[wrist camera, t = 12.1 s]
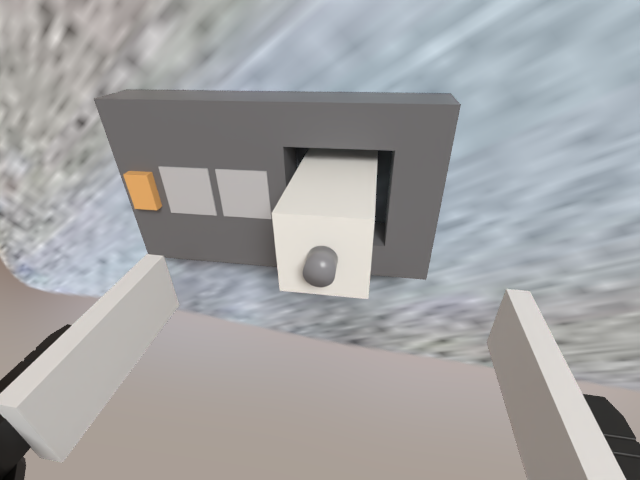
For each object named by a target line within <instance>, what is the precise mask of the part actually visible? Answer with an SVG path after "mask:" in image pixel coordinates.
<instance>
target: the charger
mask: <svg viewBox="0 0 640 480" xmlns="http://www.w3.org/2000/svg"><path fill="white" fill-rule="evenodd" d="M377 161H378V150H361V149H333V148H309V149H308V151H307V153H306V154H305V156H304V158H303V160H302V161H301V163H300V165H299V167H298V168H297V170H296V172H295V173H294V175H293V177H292V179H291V180H290V182H289V184H288V186H287V187H286V189H285V191H284V193H283V194H282V196H281V198H280V200H279V201H278V203H277V205H276V206H275V208H274V210H273V212H272V221H273V230H274V240H275V249H276V259H277V269H278V278H279V288H280V291H289V292H299V293H310V294H321V295H331V296H342V297H352V298H363V299H368V297H369V284H370V272H371V260H372V248H373V236H374V223H375V204H376V182H377Z"/></svg>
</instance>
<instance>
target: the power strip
mask: <svg viewBox="0 0 640 480" xmlns="http://www.w3.org/2000/svg"><path fill="white" fill-rule="evenodd" d="M94 101H95V104H96V106H97V109H98V112H99V115H100V118H101V121H102V123H103V126H104V129H105V132H106V135H107V138H108V141H109V143H110V146H111V149H112V152H113V155H114V158H115V161H116V163H117V166H118V169H119V172H120V175H121V178H122V181H123V183H124V186H125V189H126V192H127V195H128V198H129V200H130V203H131V206H132V209H133V212H134V215H135V218H136V220H137V223H138V226H139V229H140V232H141V235H142V238H143V240H144V243H145V246H146V249H147V252H148V254H151V255H161V256H164V257H166V258H178V259H190V260H201V261H213V262H225V263H237V264H249V265H260V266H272V267H277V259H276V249H275V240H274V230H273V221H272V212H273V210H274V208H275V206H276V205H277V203H278V201H279V200H280V198H281V196H282V194H283V193H284V191H285V189H286V187H287V186H288V184H289V182H290V180H291V179H292V177H293V175H294V173H295V172H296V170H297V167H296V149H295V147H304V148H333V149H361V150H390V151H392V157H391V167H390V177H389V187H388V197H387V207H386V217H385V223H378V222H375V223H374V236H373V248H372V260H371V272H370V275H378V276H390V277H402V278H414V279H425V280H426V278H427V273H428V268H429V262H430V257H431V252H432V247H433V242H434V237H435V232H436V227H437V222H438V217H439V212H440V207H441V202H442V196H443V191H444V186H445V181H446V176H447V171H448V166H449V161H450V156H451V151H452V146H453V141H454V136H455V130H456V125H457V120H458V115H459V110H460V105H461V104H460V103H459V102H458V101H457V100H456V99H455V98H454V97H453V95H452V94H451V93H375V92H290V91H205V90H123V91H120V92H116V93H112V94H109V95H105V96H102V97H98V98H94Z"/></svg>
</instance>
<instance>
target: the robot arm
mask: <svg viewBox="0 0 640 480" xmlns="http://www.w3.org/2000/svg"><path fill="white" fill-rule="evenodd" d="M178 307H179V302H178V299H177V296H176V293H175V290H174V287H173V283H172V280H171V277H170V274H169V271H168V268H167V265H166V261H165V258H164V256H161V255H151V254H146V255H145V256H144V257H143V258H142V259H141V260H140V261H139V262H138V263H137V264H136V265H135V266H134V267H133V268H132V269H131V270H130V271H128V272H127V273H126V274H125V275H124V276H123V277H122V278H121V279H120V280H119V281H118V282H117V283H116V284H115V285H114V286H113V287H112V288H111V289H110V290H109V291H107V292H106V293H105V294H104V295H103V296H102V297H101V298H100V299H99V300H98V301H97V302H96V303H95V304H94V305H93V306H92V307H91V308H90V309H89V310H88V311H87V312H85V313H84V314H83V315H82V316H81V317H80V318H79V319H78V320H77V321H76V322H75V323H74V324H73V325H68V324H67V325H66V326H64V327H62V328H61V329H59V330H57V331H56V332H54V333H52V334H51V335H50V336H48V338H46V339H45V340H44V341H43V342H42V343H41V344H40V345H39V346H37V347H36V350H35V351H32V352H31V353H30V354H29V355H28V356H27V357H26V358H24V361H21V362H20V363H19V364H18V365H17V366H16V367H15V368H14V369H13V370H11V371H10V372H9V373H8V374H7V375H6V376H5V377H4V378H3V379H2V380H0V480H24V476H25V469H26V462H25V458H24V457H23V456H24V455H25V453H26V452H27V451H28V450H29V449H30V448H32V450H33V451H34V452H35V453H36V454H37V455H38V456H39V457H40V458H43V459H48V460H53V461H57V462H63V461H64V460H65V459H66V457H67V456H68V455H69V453H70V452H71V451H72V449H73V448H74V447H75V445H76V444H77V443H78V441H79V440H80V439H81V437H82V436H83V434H84V433H85V432H86V430H87V429H88V428H89V426H90V425H91V424H92V422H93V421H94V419H95V418H96V417H97V416H98V414H99V413H100V412H101V410H102V409H103V408H104V406H105V405H106V404H107V402H108V401H109V400H110V398H111V397H112V396H113V394H114V393H115V391H116V390H117V389H118V388H119V386H120V385H121V383H122V382H123V381H124V379H125V378H126V377H127V375H128V374H129V373H130V371H131V370H132V369H133V367H134V366H135V365H136V363H137V362H138V361H139V359H140V358H141V357H142V355H143V354H144V352H145V351H146V350H147V348H148V347H149V346H150V344H151V343H152V342H153V341H154V339H155V338H156V336H157V335H158V334H159V332H160V331H161V330H162V328H163V327H164V326H165V324H166V323H167V322H168V320H169V319H170V318H171V316H172V315H173V314H174V312H175V311H176V310H177V308H178ZM487 345H488V349H489V352H490V355H491V359H492V362H493V366H494V369H495V372H496V375H497V379H498V382H499V386H500V389H501V392H502V396H503V399H504V403H505V406H506V409H507V413H508V416H509V419H510V423H511V426H512V430H513V433H514V436H515V440H516V443H517V447H518V450H519V453H520V457H521V460H522V463H523V467H524V470H525V474H526V477H527V480H640V444H639V442H637V441H636V437H635V435H634V434H633V432H632V430H631V428H630V427H629V425H628V423H627V422H626V420H625V418H624V417H623V415H622V414H621V413H620V412H619V411H618V410H617V409H615V407H614V406H613V405H612V404H611V403H610V402H609V401H608V400H606V398H605V397H600V396H593V395H585V394H582V392H581V390H580V388H579V386H578V384H577V382H576V381H575V379H574V377H573V375H572V373H571V371H570V369H569V367H568V365H567V363H566V361H565V359H564V357H563V355H562V353H561V351H560V349H559V347H558V345H557V343H556V341H555V340H554V338H553V336H552V334H551V332H550V330H549V328H548V326H547V324H546V322H545V320H544V318H543V316H542V314H541V312H540V310H539V308H538V306H537V304H536V302H535V300H534V298H533V297H532V295H531V293H530V291H523V290H513V289H506V291H505V293H504V296H503V299H502V302H501V305H500V307H499V310H498V313H497V316H496V318H495V321H494V324H493V327H492V329H491V332H490V335H489V338H488V340H487Z"/></svg>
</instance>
